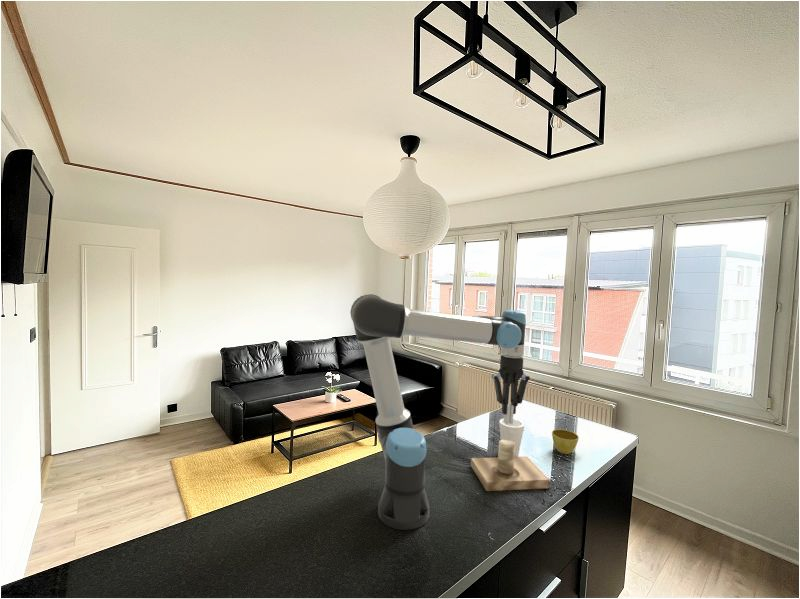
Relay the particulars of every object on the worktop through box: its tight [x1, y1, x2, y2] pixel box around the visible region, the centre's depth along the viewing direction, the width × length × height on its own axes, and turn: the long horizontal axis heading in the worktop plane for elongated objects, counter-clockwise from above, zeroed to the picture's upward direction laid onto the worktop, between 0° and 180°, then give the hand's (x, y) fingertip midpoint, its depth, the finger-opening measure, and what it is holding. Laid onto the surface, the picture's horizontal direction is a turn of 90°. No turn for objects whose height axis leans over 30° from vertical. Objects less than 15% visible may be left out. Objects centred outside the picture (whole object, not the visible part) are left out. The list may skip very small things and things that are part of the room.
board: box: [470, 455, 550, 492], centre depth 131 cm, size 22×16×3 cm
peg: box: [497, 439, 515, 476], centre depth 129 cm, size 6×6×13 cm
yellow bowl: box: [551, 428, 580, 455], centre depth 152 cm, size 10×10×7 cm
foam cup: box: [498, 417, 525, 457], centre depth 148 cm, size 10×9×13 cm
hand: (508, 422), depth 128 cm, fingers closed
